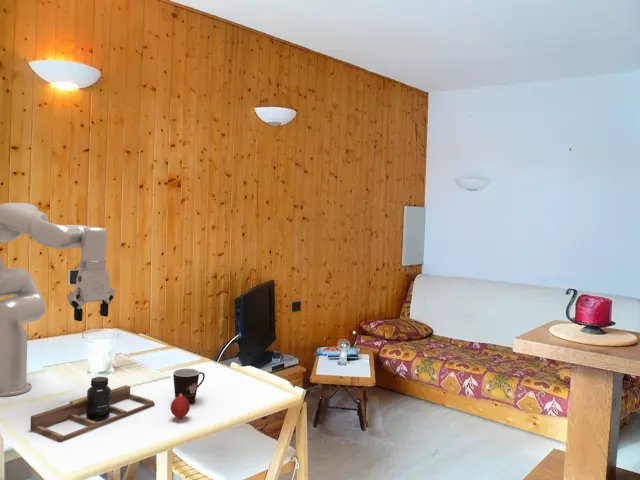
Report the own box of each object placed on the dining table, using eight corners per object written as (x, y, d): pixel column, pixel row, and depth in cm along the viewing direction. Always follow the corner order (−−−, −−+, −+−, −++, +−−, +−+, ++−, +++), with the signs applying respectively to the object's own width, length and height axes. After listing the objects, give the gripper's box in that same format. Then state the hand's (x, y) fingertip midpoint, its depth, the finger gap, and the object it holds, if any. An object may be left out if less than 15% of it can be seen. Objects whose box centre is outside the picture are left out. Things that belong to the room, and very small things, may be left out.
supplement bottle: (101, 423, 163) (102, 383, 162) (81, 420, 165) (82, 381, 164) (114, 414, 170) (115, 376, 169) (94, 411, 171) (95, 374, 171)
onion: (172, 414, 172) (173, 390, 172) (190, 415, 173) (191, 390, 172) (168, 422, 166) (169, 396, 166) (187, 422, 167) (188, 397, 166)
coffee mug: (175, 407, 178) (176, 377, 178) (169, 398, 186) (170, 369, 185) (210, 403, 184) (211, 374, 183) (203, 394, 191) (204, 366, 191)
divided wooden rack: (30, 429, 156) (30, 414, 156) (125, 396, 186) (126, 383, 185) (60, 442, 149) (61, 425, 149) (154, 405, 179) (155, 391, 179)
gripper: (77, 268, 166) (75, 324, 167) (123, 265, 181) (121, 316, 182) (61, 266, 169) (59, 320, 171) (107, 262, 184) (106, 312, 186)
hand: (91, 318), depth 176 cm, fingers open, 9 cm apart
